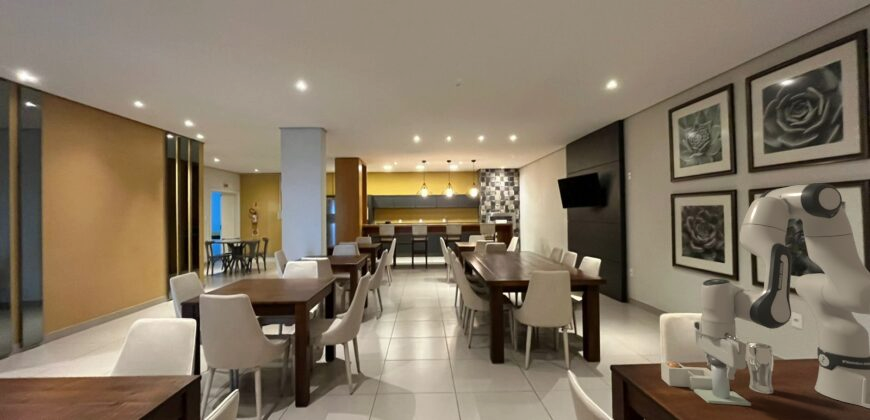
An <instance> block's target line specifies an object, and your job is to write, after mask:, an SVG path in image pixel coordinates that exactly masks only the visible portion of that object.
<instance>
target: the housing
mask: <svg viewBox="0 0 870 420" xmlns="http://www.w3.org/2000/svg"><path fill="white" fill-rule="evenodd" d="M669 362H670V361H667V362H666V361H661V362H660V369H661V370H660V371H661V379H662V381H664V382H665V383H666V384H667V385H668V386H669V387H680V388H681V387H684V388H685V387H686V388H689V389H690V390H691V391H692V390H693V391H694V389H700V390H712V373H711V370H710V369H709V368H707V367H699V366H698V367H696V366H695V367H693V366H684V365H683V364H681V363H679V362H678V363H679V368H671V367H669Z"/></svg>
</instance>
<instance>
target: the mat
mask: <svg viewBox="0 0 870 420" xmlns="http://www.w3.org/2000/svg"><path fill="white" fill-rule="evenodd" d="M693 392H694V393H695V394H697V395H698V396H699V397H700V398H702V400H704V401H705V402H706V403H707V404H717V405H733V406H734V405H735V406H748V407H749V406H752V403H751V402H750V401H748V400H747V399H745V398H744V397H743V396H741V395H740V394H739V393H737V392H735V391H731V390H730V399H722V398H718V397H716V396H714V395H713V390H700V389H694V390H693Z"/></svg>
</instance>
